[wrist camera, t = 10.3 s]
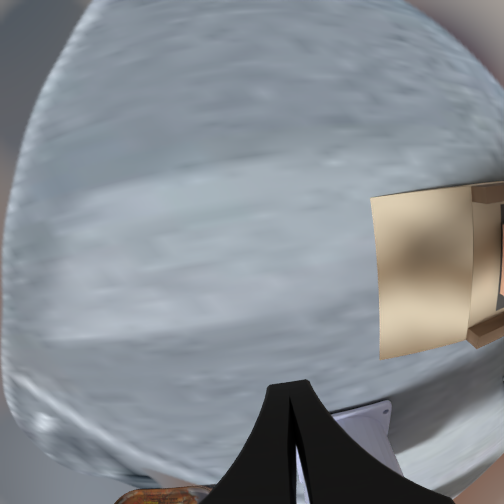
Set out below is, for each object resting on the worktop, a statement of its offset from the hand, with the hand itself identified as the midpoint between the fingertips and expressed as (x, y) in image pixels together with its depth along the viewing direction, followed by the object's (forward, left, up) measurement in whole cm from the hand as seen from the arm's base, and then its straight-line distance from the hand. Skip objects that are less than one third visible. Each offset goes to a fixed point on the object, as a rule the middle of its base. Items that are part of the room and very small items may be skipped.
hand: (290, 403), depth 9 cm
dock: (0, -14, -9) cm, 17 cm away
